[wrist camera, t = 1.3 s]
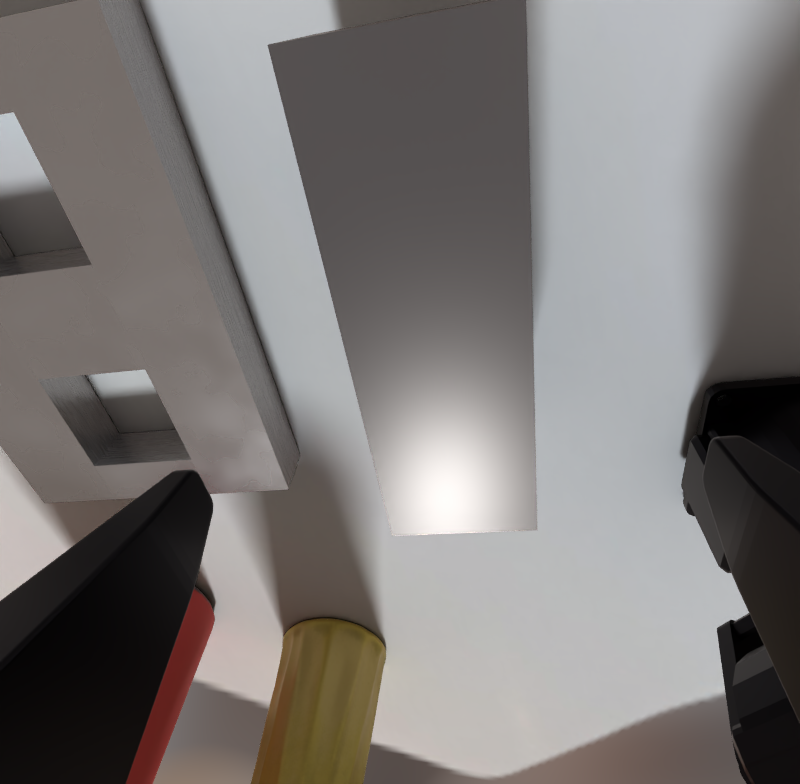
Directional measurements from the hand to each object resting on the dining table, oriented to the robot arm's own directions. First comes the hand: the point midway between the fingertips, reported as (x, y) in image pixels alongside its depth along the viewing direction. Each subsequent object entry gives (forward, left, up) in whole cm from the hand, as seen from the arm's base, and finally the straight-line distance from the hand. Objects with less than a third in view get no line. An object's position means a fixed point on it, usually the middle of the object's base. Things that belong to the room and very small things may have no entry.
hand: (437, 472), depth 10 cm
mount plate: (+13, 0, -10) cm, 16 cm away
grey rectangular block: (0, 0, -10) cm, 10 cm away
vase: (+9, +23, -10) cm, 27 cm away
